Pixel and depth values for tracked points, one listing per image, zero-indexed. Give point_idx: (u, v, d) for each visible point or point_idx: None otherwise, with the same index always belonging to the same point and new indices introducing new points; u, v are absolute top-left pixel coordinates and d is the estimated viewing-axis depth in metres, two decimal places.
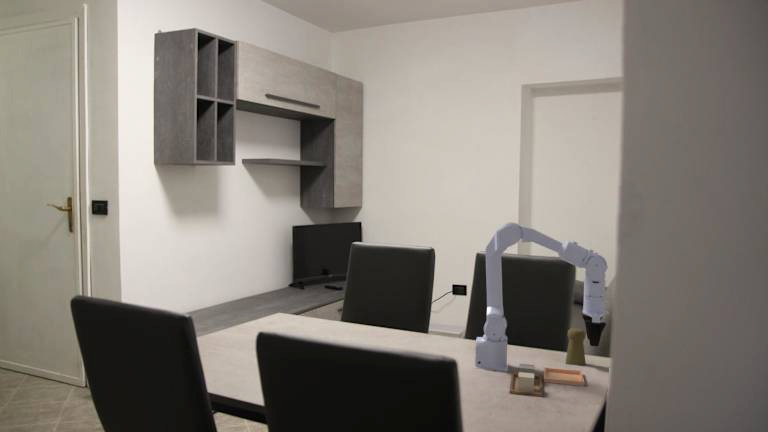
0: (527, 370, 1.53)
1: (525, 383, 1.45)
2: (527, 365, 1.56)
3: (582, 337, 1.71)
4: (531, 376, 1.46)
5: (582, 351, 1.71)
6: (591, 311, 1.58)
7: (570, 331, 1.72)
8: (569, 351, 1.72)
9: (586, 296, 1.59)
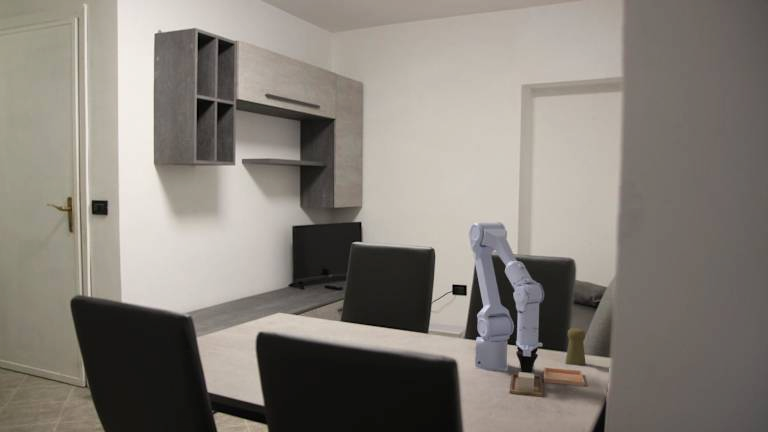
0: None
1: (525, 383, 1.45)
2: None
3: (582, 337, 1.71)
4: (531, 376, 1.46)
5: (582, 351, 1.71)
6: (523, 343, 1.52)
7: (570, 331, 1.72)
8: (569, 351, 1.72)
9: (519, 327, 1.53)
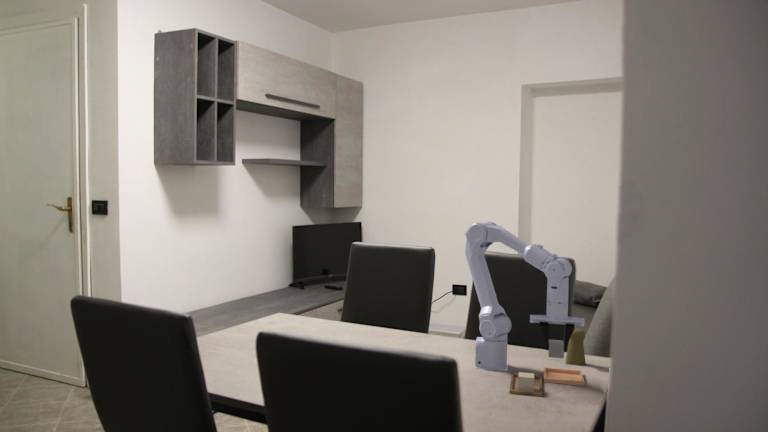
0: None
1: (525, 383, 1.45)
2: (561, 342, 1.55)
3: (582, 337, 1.71)
4: (531, 376, 1.46)
5: (582, 351, 1.71)
6: None
7: None
8: (569, 351, 1.72)
9: None
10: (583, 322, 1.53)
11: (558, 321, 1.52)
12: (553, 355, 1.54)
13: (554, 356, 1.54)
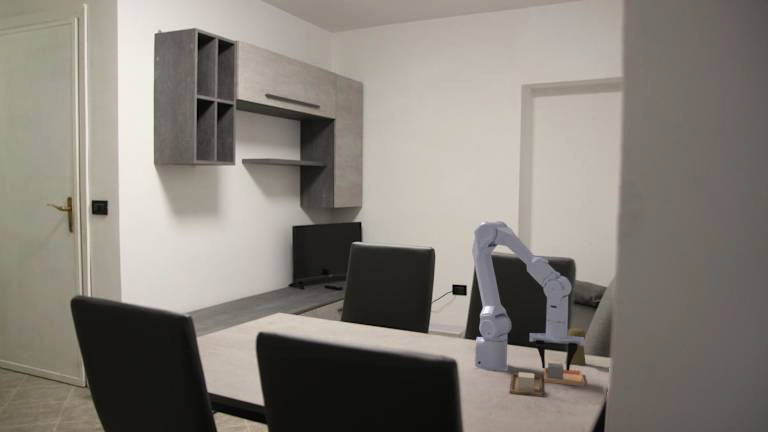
0: (548, 366, 1.56)
1: (525, 383, 1.45)
2: (560, 366, 1.56)
3: None
4: (531, 376, 1.46)
5: (582, 351, 1.71)
6: None
7: (570, 331, 1.72)
8: None
9: None
10: (582, 341, 1.53)
11: (558, 340, 1.52)
12: None
13: None
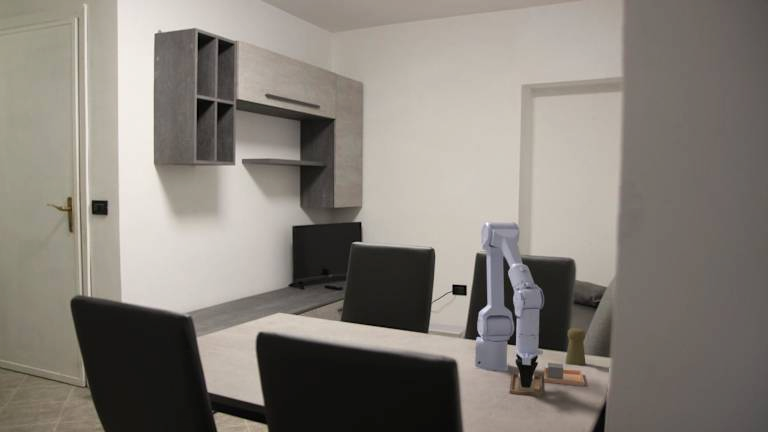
0: (548, 366, 1.56)
1: None
2: (560, 366, 1.56)
3: (582, 337, 1.71)
4: None
5: (582, 351, 1.71)
6: (523, 351, 1.44)
7: (570, 331, 1.72)
8: (569, 351, 1.72)
9: (518, 334, 1.46)
10: None
11: (542, 352, 1.46)
12: None
13: None
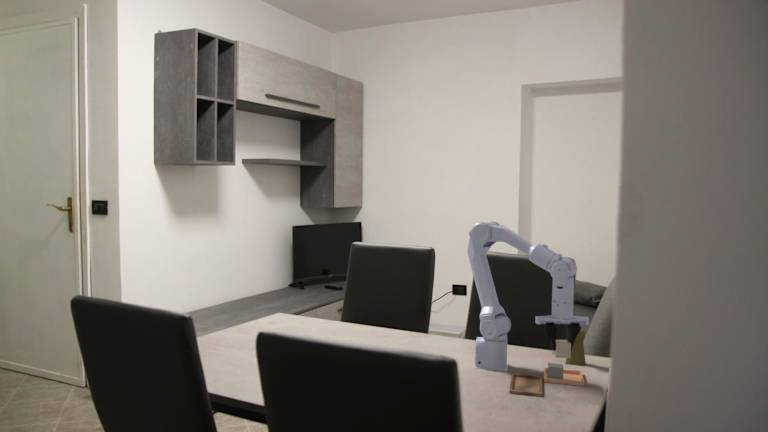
0: (548, 366, 1.56)
1: None
2: (560, 366, 1.56)
3: (582, 337, 1.71)
4: (559, 342, 1.55)
5: (582, 351, 1.71)
6: (551, 315, 1.57)
7: None
8: None
9: None
10: (588, 320, 1.55)
11: (567, 321, 1.52)
12: None
13: None
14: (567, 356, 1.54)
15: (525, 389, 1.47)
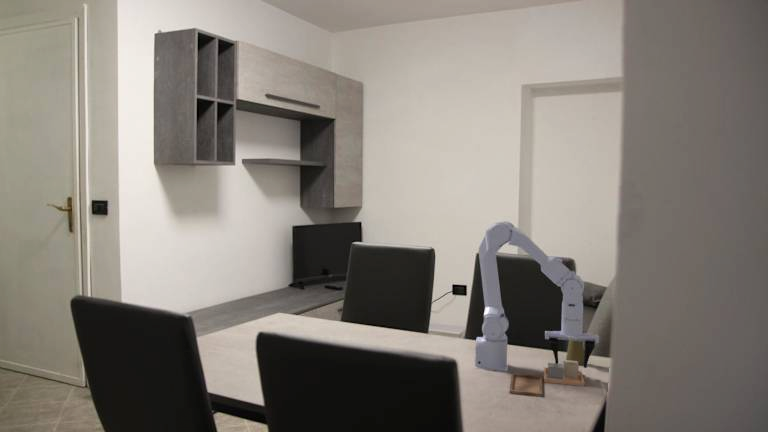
0: (548, 366, 1.56)
1: None
2: (560, 366, 1.56)
3: None
4: (567, 363, 1.58)
5: (582, 351, 1.71)
6: None
7: None
8: (569, 351, 1.72)
9: None
10: (597, 339, 1.56)
11: (573, 338, 1.55)
12: None
13: None
14: (574, 377, 1.57)
15: (525, 389, 1.47)
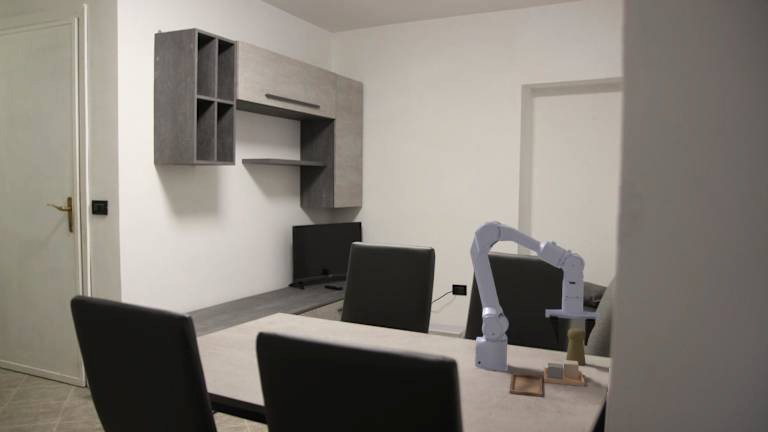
0: (548, 366, 1.56)
1: None
2: (560, 366, 1.56)
3: (582, 337, 1.71)
4: (567, 363, 1.58)
5: (582, 351, 1.71)
6: None
7: (570, 331, 1.72)
8: (569, 351, 1.72)
9: None
10: (598, 316, 1.56)
11: (574, 315, 1.55)
12: None
13: None
14: (574, 377, 1.57)
15: (525, 389, 1.47)
